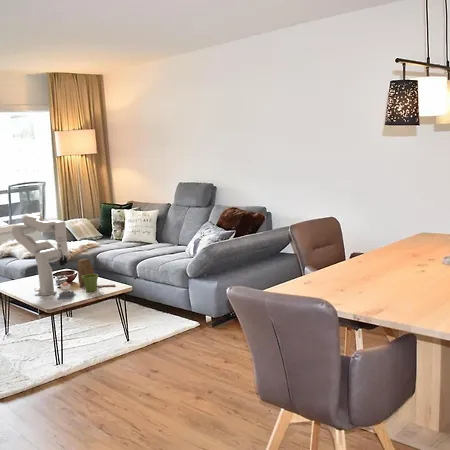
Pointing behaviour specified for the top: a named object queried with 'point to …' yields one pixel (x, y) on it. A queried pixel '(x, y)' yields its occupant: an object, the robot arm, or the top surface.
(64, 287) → the popper dome
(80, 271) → the block
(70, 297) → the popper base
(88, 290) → the plant pot
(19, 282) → the top surface
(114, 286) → the bracket
